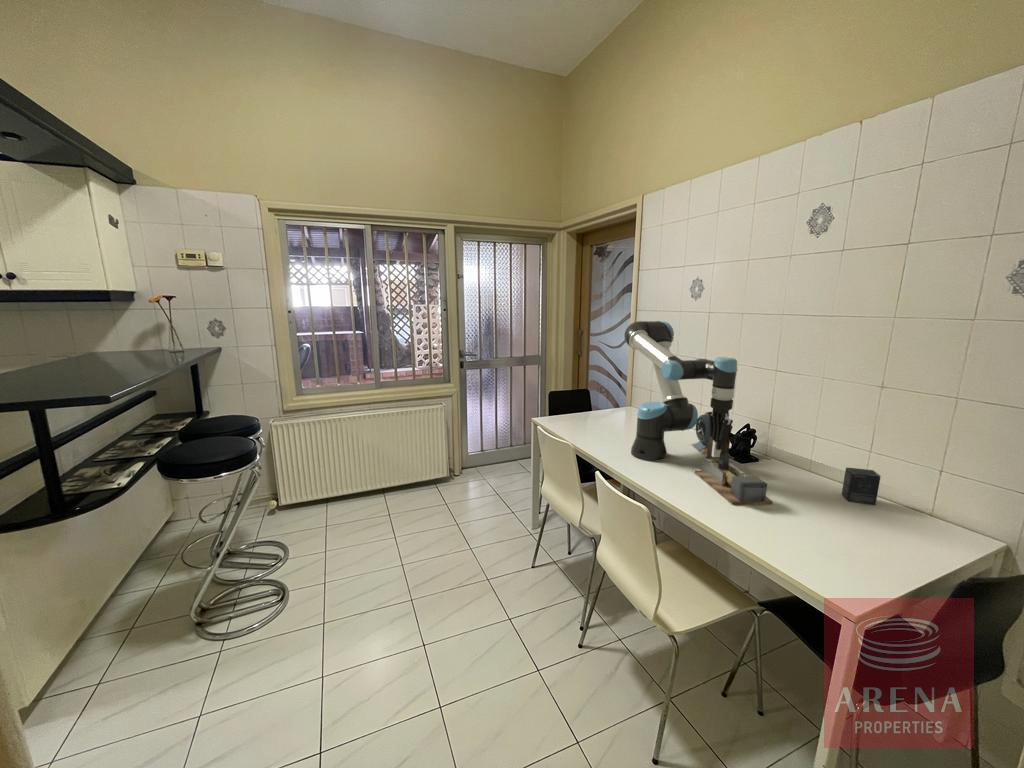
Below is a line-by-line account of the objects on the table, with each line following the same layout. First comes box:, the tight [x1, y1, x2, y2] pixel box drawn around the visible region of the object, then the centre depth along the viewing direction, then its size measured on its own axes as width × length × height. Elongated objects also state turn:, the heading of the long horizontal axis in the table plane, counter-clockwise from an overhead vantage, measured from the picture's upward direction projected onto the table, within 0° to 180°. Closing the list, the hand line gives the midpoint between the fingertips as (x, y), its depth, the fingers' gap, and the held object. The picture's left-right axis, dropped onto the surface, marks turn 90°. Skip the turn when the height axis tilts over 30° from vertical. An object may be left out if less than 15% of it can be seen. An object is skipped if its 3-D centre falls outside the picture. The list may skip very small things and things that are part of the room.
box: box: [841, 466, 882, 506], centre depth 138 cm, size 8×6×11 cm
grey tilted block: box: [701, 458, 745, 486], centre depth 153 cm, size 14×8×5 cm, turn 3°
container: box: [705, 424, 733, 459], centre depth 166 cm, size 9×9×18 cm
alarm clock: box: [690, 411, 710, 455], centre depth 185 cm, size 14×10×18 cm
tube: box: [713, 452, 735, 486], centre depth 151 cm, size 14×4×10 cm, turn 3°
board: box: [694, 469, 774, 506], centre depth 148 cm, size 26×14×1 cm, turn 3°
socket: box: [730, 475, 768, 502], centre depth 137 cm, size 6×8×6 cm
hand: (715, 456), depth 158 cm, fingers closed
